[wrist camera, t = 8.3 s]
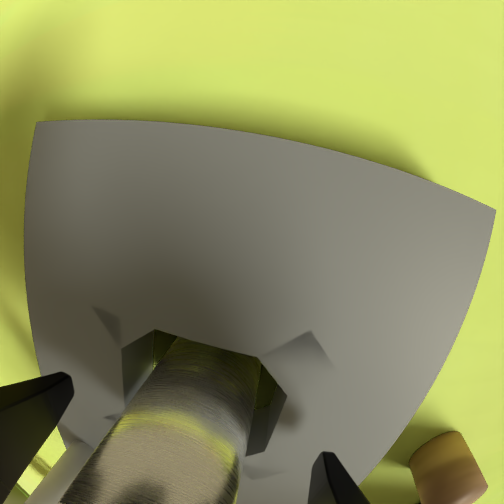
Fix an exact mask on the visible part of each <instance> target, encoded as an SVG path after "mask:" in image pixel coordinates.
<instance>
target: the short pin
mask: <svg viewBox="0 0 504 504" xmlns="http://www.w3.org/2000/svg"><path fill="white" fill-rule="evenodd" d="M409 466H410V469H411V472H412V475H413V479H414V482H415V485H416V488H417V491H418V495H419V498H420V502H421V504H472V503H473V502H475V501H476V500H477V499H478V498H480V497H481V496H482V495H483V494H484V492H485V491H486V490H487V488H488V485H487V483H486V481H485V479H484V477H483V475H482V473H481V471H480V469H479V467H478V465H477V463H476V461H475V459H474V457H473V455H472V453H471V451H470V449H469V447H468V445H467V444H466V442H465V440H464V438H463V436H462V435H461V433H460V432H457V431H451V432H447V433H444V434H441V435H439V436H437V437H435V438H433V439H431V440H430V441H428V442H427V443H425V444H424V445H422V446H421V447H420V448H419V449H418V450H417V451H416V452H415V453H414V454H413V455H412V457H411V458H410V460H409Z"/></svg>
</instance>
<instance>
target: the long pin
mask: <svg viewBox="0 0 504 504" xmlns="http://www.w3.org/2000/svg"><path fill="white" fill-rule="evenodd" d="M260 372H261V361H260V360H259V359H258V357H255V356H250V355H246V354H242V353H238V352H234V351H230V350H226V349H222V348H218V347H214V346H211V345H207V344H203V343H200V342H196V341H193V340H189V339H186V338H182V337H179V336H178V337H177V338H176V340H175V341H174V342H173V344H172V345H171V347H170V348H169V349H168V351H167V352H166V353H165V355H164V356H163V357H162V359H161V360H160V361H159V363H158V364H157V366H156V367H155V368H154V370H153V371H152V372H151V374H150V375H149V376H148V378H147V379H146V380H145V382H144V383H143V385H142V386H141V387H140V389H139V390H138V391H137V393H136V394H135V396H134V397H133V398H132V400H131V401H130V402H129V404H128V405H127V406H126V408H125V409H124V411H123V412H122V413H121V415H120V416H119V417H118V419H117V420H116V422H115V423H114V424H113V426H112V427H111V428H110V430H109V431H108V433H107V434H106V435H105V437H104V438H103V440H102V441H101V442H100V444H99V445H98V447H97V448H96V449H95V451H94V452H93V453H92V455H91V456H90V458H89V459H88V460H87V462H86V463H85V465H84V466H83V467H82V469H81V470H80V472H79V473H78V474H77V476H76V477H75V479H74V480H73V481H72V483H71V484H70V486H69V487H68V488H67V490H66V491H65V493H64V494H63V496H62V497H61V498H60V500H59V501H58V503H57V504H236V499H237V495H238V490H239V485H240V480H241V475H242V470H243V465H244V460H245V455H246V450H247V445H248V439H249V434H250V429H251V423H252V418H253V412H254V407H255V401H256V395H257V390H258V384H259V378H260Z"/></svg>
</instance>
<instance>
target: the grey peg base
mask: <svg viewBox="0 0 504 504" xmlns="http://www.w3.org/2000/svg"><path fill="white" fill-rule="evenodd" d="M495 214H496V210H495V209H493V208H491V207H489V206H487V205H485V204H483V203H481V202H478V201H476V200H474V199H472V198H470V197H467V196H465V195H463V194H460V193H458V192H456V191H453V190H451V189H449V188H446V187H444V186H441V185H439V184H436V183H433V182H431V181H428V180H426V179H423V178H420V177H418V176H415V175H412V174H409V173H406V172H403V171H401V170H398V169H395V168H392V167H389V166H385V165H382V164H379V163H376V162H373V161H369V160H366V159H363V158H359V157H356V156H352V155H349V154H345V153H341V152H338V151H334V150H330V149H326V148H322V147H318V146H314V145H309V144H305V143H301V142H296V141H291V140H287V139H282V138H277V137H272V136H266V135H261V134H255V133H249V132H243V131H237V130H230V129H223V128H216V127H208V126H200V125H191V124H180V123H169V122H155V121H138V120H61V121H44V122H37V123H36V128H35V132H34V137H33V143H32V149H31V155H30V161H29V168H28V177H27V186H26V197H25V214H24V265H25V281H26V292H27V302H28V310H29V317H30V324H31V330H32V336H33V341H34V346H35V351H36V356H37V360H38V364H39V369H40V373H41V376H46V375H49V374H53V373H57V372H60V371H63V372H65V373H67V374H69V375H70V376H71V377H72V381H73V386H74V391H75V392H74V397H73V398H72V400H71V402H70V404H69V405H68V407H67V409H66V410H65V412H64V414H63V416H62V417H61V419H60V421H59V423H58V424H57V427H58V430H59V432H60V435H61V437H62V440H63V442H64V445H65V447H66V449H67V450H66V451H65V452H64V454H63V455H62V456H61V457H60V459H59V460H58V461H57V462H56V464H55V465H54V466H53V467H52V469H51V470H50V471H49V472H48V474H47V475H46V476H45V477H44V479H43V480H42V481H41V482H40V484H39V485H38V486H37V488H36V489H35V490H34V491H33V493H32V494H31V495H30V497H29V498H28V499H27V500H26V502H25V503H24V504H57V503H58V501H59V500H60V498H61V497H62V496H63V494H64V493H65V491H66V490H67V488H68V487H69V486H70V484H71V483H72V481H73V480H74V479H75V477H76V476H77V474H78V473H79V472H80V470H81V469H82V467H83V466H84V465H85V463H86V462H87V460H88V459H89V458H90V456H91V455H92V453H93V452H94V451H95V449H96V448H97V447H98V445H99V444H100V442H101V441H102V440H103V438H104V437H105V435H106V434H107V433H108V431H109V430H110V428H111V427H112V426H113V424H114V423H115V422H116V420H117V419H118V417H119V416H120V415H121V413H122V412H123V411H124V409H125V408H126V406H127V405H128V404H129V402H130V401H131V400H132V398H133V397H134V396H135V394H136V393H137V391H138V390H139V389H140V387H141V386H142V385H143V383H144V382H145V380H146V379H147V378H148V376H149V375H150V374H151V372H152V371H153V345H154V329H157V330H160V331H163V332H166V333H169V334H173V335H176V336H179V337H182V338H186V339H189V340H193V341H196V342H200V343H203V344H207V345H211V346H214V347H218V348H222V349H226V350H230V351H234V352H238V353H242V354H246V355H250V356H255V357H258V359H259V360H260V361H261V363H262V364H263V365H264V367H265V368H266V369H267V370H268V372H269V373H270V374H271V376H272V377H273V378H274V379H275V381H276V382H277V386H276V389H275V392H274V395H273V398H272V401H271V404H270V405H268V406H265V407H263V408H260V409H257V410H255V411H254V412H253V418H252V423H251V429H250V434H249V439H248V445H247V450H246V455H245V460H244V465H243V470H242V475H241V480H240V485H239V490H238V495H237V499H236V504H307V503H308V495H309V487H310V479H311V470H312V466H313V464H314V462H315V460H316V459H317V457H318V456H319V454H320V453H321V452H322V451H328V452H334V453H335V454H336V456H337V457H338V459H339V460H340V462H341V463H342V465H343V466H344V467H345V469H346V470H347V472H348V473H349V475H350V476H351V477H352V479H353V480H354V482H355V483H356V484H357V486H359V485H360V483H361V482H362V481H363V480H364V479H365V478H366V477H367V476H368V475H369V473H370V472H371V471H372V470H373V469H374V468H375V466H376V465H377V464H378V463H379V462H380V460H381V459H382V458H383V457H384V456H385V454H386V453H387V452H388V450H389V449H390V448H391V447H392V445H393V444H394V443H395V441H396V440H397V439H398V437H399V436H400V434H401V433H402V432H403V430H404V429H405V427H406V426H407V425H408V423H409V422H410V420H411V419H412V417H413V416H414V414H415V413H416V411H417V409H418V408H419V406H420V405H421V403H422V402H423V400H424V398H425V397H426V395H427V393H428V392H429V390H430V388H431V386H432V385H433V383H434V381H435V379H436V377H437V376H438V374H439V372H440V370H441V368H442V366H443V364H444V362H445V360H446V358H447V356H448V354H449V352H450V350H451V348H452V346H453V344H454V342H455V340H456V337H457V335H458V333H459V331H460V328H461V326H462V324H463V321H464V319H465V316H466V314H467V311H468V309H469V306H470V303H471V301H472V298H473V295H474V292H475V289H476V286H477V283H478V280H479V277H480V274H481V271H482V267H483V264H484V261H485V257H486V253H487V249H488V246H489V242H490V237H491V233H492V229H493V224H494V219H495Z"/></svg>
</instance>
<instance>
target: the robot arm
mask: <svg viewBox="0 0 504 504" xmlns="http://www.w3.org/2000/svg"><path fill="white" fill-rule="evenodd" d="M74 392H75V391H74V386H73V381H72V377H71V376H70V375H69V374H67V373H65V372H63V371H60V372H57V373H53V374H49V375H46V376H42V377H38V378H34V379H31V380H27V381H23V382H19V383H15V384H11V385H7V386H2V387H0V504H3V503H4V501H5V500H6V498H7V496H8V495H9V493H10V491H11V490H12V489H13V487H14V485H15V484H16V482H17V481H18V479H19V478H20V477H21V475H22V474H23V472H24V471H25V469H26V468H27V466H28V465H29V463H30V462H31V461H32V459H33V458H34V456H35V455H36V453H37V452H38V451H39V449H40V448H41V446H42V445H43V444H44V442H45V441H46V439H47V438H48V437H49V435H50V434H51V433H52V431H53V430H54V429H55V427H56V426H57V424H58V423H59V421H60V419H61V417H62V416H63V414H64V412H65V410H66V409H67V407H68V405H69V404H70V402H71V400H72V398H73V397H74ZM307 504H370V502H369V501H368V500H367V498H366V497H365V496H364V494H363V493H362V491H361V490H360V489H359V487H358V486H357V484H356V483H355V482H354V480H353V479H352V477H351V476H350V475H349V473H348V472H347V470H346V469H345V467H344V466H343V465H342V463H341V462H340V460H339V459H338V457H337V456H336V454H335V453H334V452H328V451H322V452H321V453H320V454H319V456H318V457H317V459H316V460H315V462H314V464H313V466H312V470H311V479H310V487H309V495H308V503H307ZM419 504H421V503H419Z"/></svg>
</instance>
